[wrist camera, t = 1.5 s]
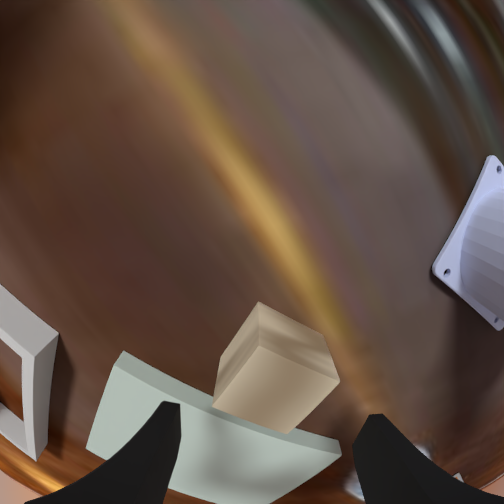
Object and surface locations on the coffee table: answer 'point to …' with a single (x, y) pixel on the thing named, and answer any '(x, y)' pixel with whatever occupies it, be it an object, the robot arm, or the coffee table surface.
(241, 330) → the maple cube
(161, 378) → the board
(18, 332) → the bottle tray rim
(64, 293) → the coffee table surface
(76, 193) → the coffee table surface
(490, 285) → the robot arm
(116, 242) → the coffee table surface
